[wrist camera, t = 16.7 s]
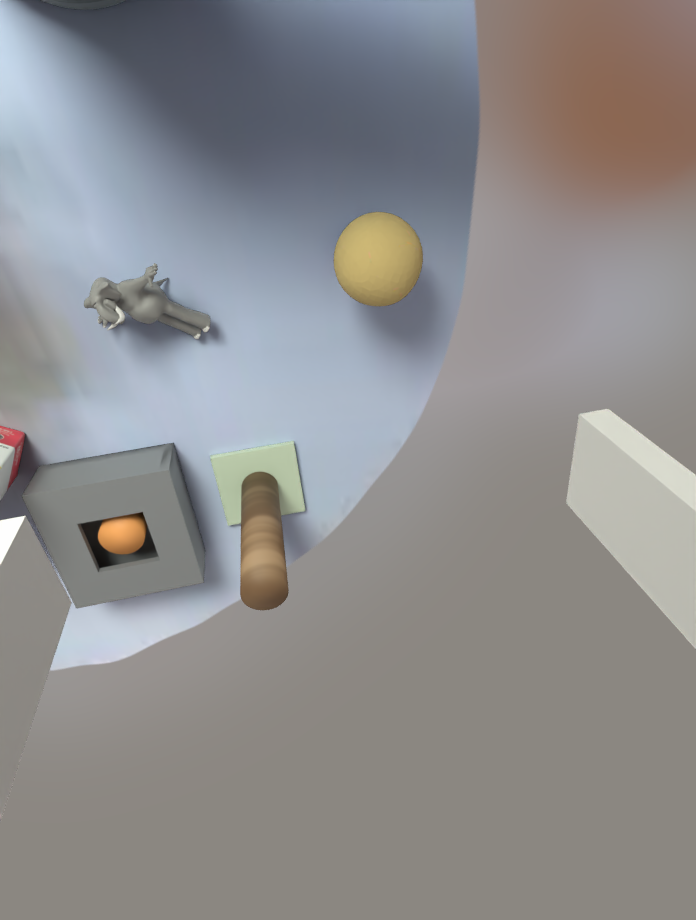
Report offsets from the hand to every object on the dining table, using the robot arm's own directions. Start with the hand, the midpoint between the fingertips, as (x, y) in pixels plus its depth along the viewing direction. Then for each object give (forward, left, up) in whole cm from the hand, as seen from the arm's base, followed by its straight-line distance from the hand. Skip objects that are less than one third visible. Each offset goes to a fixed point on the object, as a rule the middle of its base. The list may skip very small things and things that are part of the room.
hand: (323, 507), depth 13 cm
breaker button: (+22, -17, -35) cm, 45 cm away
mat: (+21, -4, -37) cm, 42 cm away
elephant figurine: (+2, -9, -37) cm, 38 cm away
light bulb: (0, +8, -37) cm, 38 cm away
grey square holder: (+22, -17, -37) cm, 46 cm away
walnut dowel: (+22, -4, -36) cm, 42 cm away
